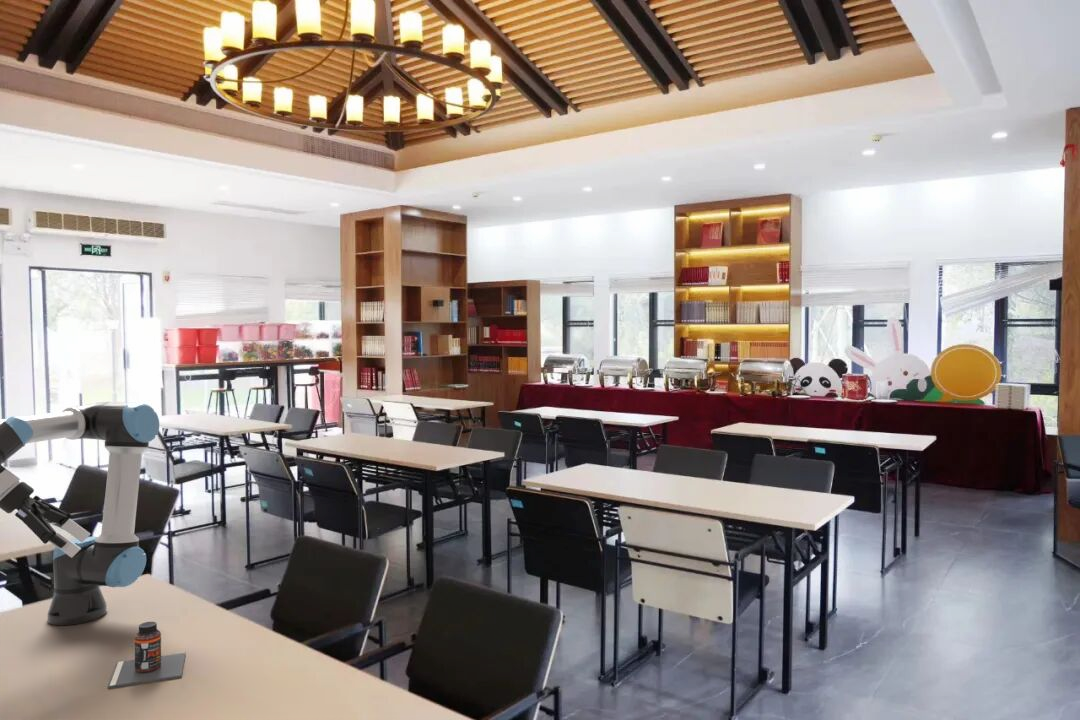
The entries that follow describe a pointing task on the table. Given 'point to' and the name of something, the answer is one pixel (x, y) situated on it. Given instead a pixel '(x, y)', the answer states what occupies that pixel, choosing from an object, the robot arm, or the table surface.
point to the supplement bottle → (147, 648)
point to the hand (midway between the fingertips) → (81, 545)
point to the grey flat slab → (129, 676)
